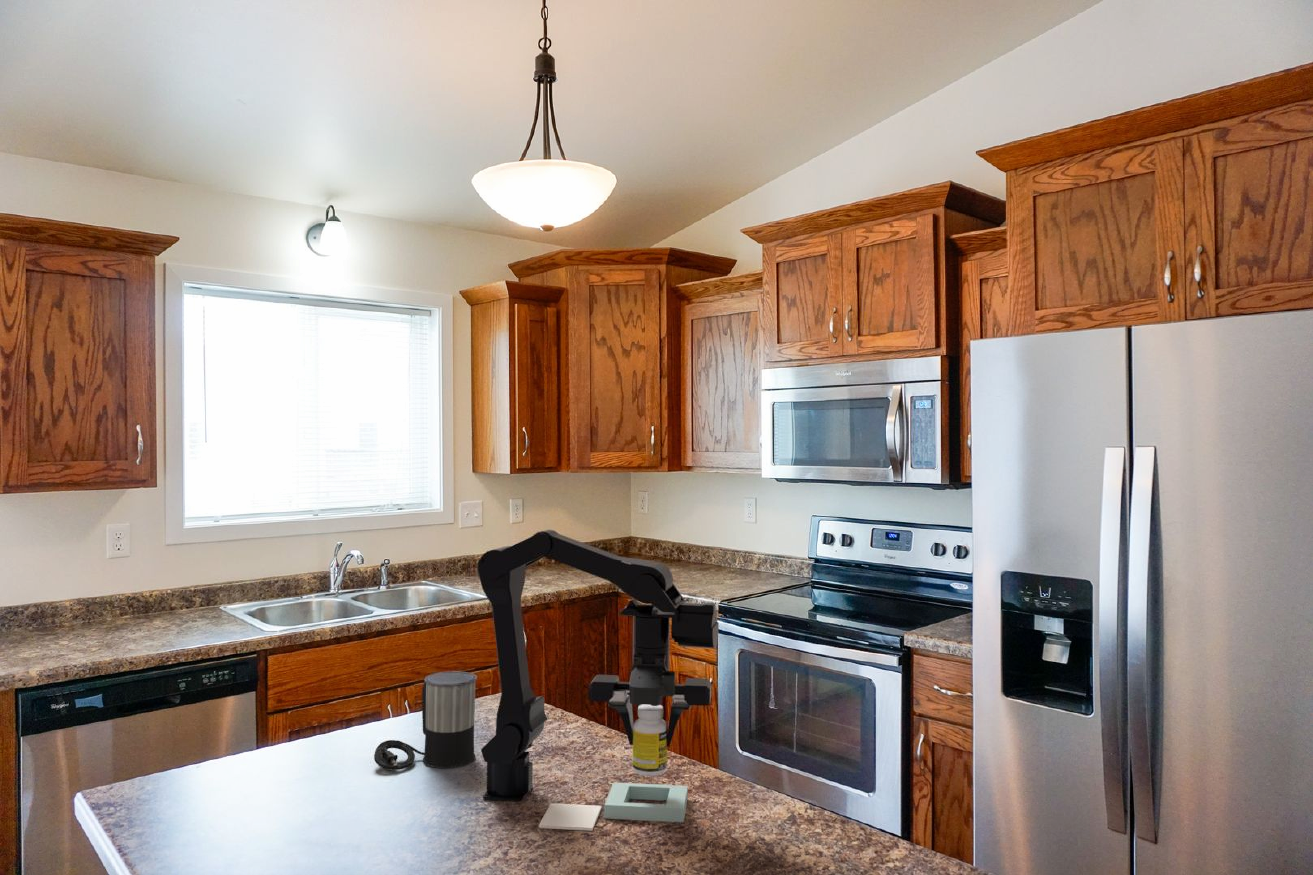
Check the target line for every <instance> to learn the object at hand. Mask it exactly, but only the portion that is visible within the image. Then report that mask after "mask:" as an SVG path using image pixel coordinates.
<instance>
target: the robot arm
mask: <svg viewBox="0 0 1313 875" xmlns="http://www.w3.org/2000/svg"><path fill="white" fill-rule="evenodd" d="M543 558H548V559H551V561H552V560H553V561H556V562H558V563H561V564H563V565H566V566H568V567H571V568H574V569H576V570H580V571H581V572H584V573H587V574H590V575H593V576H595V577H598V578H600V579H603V580H606V581H608V582H609V583H611V584H613V585H614V586H615V587H617V588H618V589H620V591H622V592H623V593H624V594H626V595H628V596H629V597H631V598H632V599H630V600H629V602H628V603H627V604H626V606H625V607H623V609H621V610H619V611H620V612H619V614H620V615H621V616H625V617H633V619H632V623H633V624H632V666H631V669H630V672H629V681H620V679H619V678H620V677H619V674H617V675H615V674H596V675H595V677H594V678H592V681H591V682H590V683H589V686H588V701H590V702H599V703H601V702H604V703H605V702H606V703H607V704H608V707H609V708H614V709H615V710H616V712H617V713H618V715H619V717H620V719H621V721H622V724H623V727H624V730H625V734H626V736H627V739H628V742H629V745H630V746H633V724H634V715H633V706H640V705H643V704H647V705H652V706H658V705H662V703H663V697H670V698H671V697H672V701H671V705H670V710H669V711H670V712H669V713H670V714H669V719H668V720H669V721H668V725H667V729H668V730H667V748H670V746H671V743H672V740H673V737H674V734H675V730H676V727H677V724H678V722H679V721H680V720H679V719H680V718H681V716H682V713H683V712H684V711H690V710H691V707H692V706H697V707H698V706H700V707H703V706H704V707H706V706H710V705H711V701H712V700H711V698H712V682H711V681H710V680H709V679H708V678H701V677H700V678H696V677H694V678H693V677H686V679H685V683H681V684H680V683H677V682H676V676H677V675H676V671H674V670H670V636H671V639H672V640H673V642H674V643H677V645H678V647H683V648H697V649H698V648H700V649H711V650H712V649H714V650H715V649H717V646H718V639H719V629H720V628H719V627H720V626H719V625H720V624H719V622H718V616H717V611H716V603H714V602H713V603H712V602H706V603H690V602H689V603H688V602H686V599H685V598H684V597H683V595H682V594H681V593H680V591H679V590H678V588H677V587H676V585H675V584H674V577H673V574H672V572H671V570H670V567H668V566H667V565H666V564H665V563H663V562H658V561H653V560H649V559H642V558H641V559H640V558H632V557H625V556H619V555H617V554H614V553H612V552H609V551H606V550H603V549H602V548H598V547H595V546H593V545H590V544H587V543H584V542H582V541H578V540H576V539H575V538H574V539H573V538H571V537H569V536H566V535H562V534H560V533H558V532H557V531H556V530H553V529H545V530H541V531H537V532H535V533H534V534H533V535H532V536H530V537H528V538H525V539H524V540H522V541H519V542H517V543H515V544H513V545H507V546H502V547H499V548H494V549H490V550H487V551H485V552H484V553H482V556H480V558H479V559H478V561H477V565H476V569H477V574H478V579H479V583H480V585H481V589H482V590H483V593H484V595H485V597H486V598H487V600H488V601H489V603H490V606H491V612H492V619H493V621H492V622H493V626H494V628H493V629H494V637H495V646H496V656H497V665H498V673H499V682H500V691H501V693H500V695H501V696H500V699H499V703H498V708H497V712H496V719H495V735H494V736H493V737H492V738H491V739H489V741H488V742H487V743H486V744H485V745H483V747H481V748H480V751H481V756H482V757H483V761H484V762H485V763H486V791H485V792H484V793H483V795H482V799H483V800H491V801H492V800H493V801H494V800H495V801H513V802H514V801H515V802H516V801H517V802H522V801H524V799H525V798H526V796H527V795H528V793H529V792H530V791H531V789H532V788H533V772H534V771H533V766H534V764H533V761H530V751H528V750H529V749H531V748H532V746H533V743H534V742H535V740H536V739H538V737H540V735H541V734H542V732H543V731H544V727H545V723H546V721H548V717H547V715H546V710H545V697H544V695H541V696H536V695H535V693H534V691H533V690H532V687H531V685H530V684H531V683H530V676H529V675H530V674H529V665H528V658H527V651H526V650H527V649H526V648H527V647H526V640H525V639H526V638H525V630H524V623H523V613H522V603H521V600H522V599H521V598H522V594H523V591H524V586H525V582H526V568H527V567H528V566H531V565H533V564H535V563H536V562H538V561H541V559H543ZM670 621H671V622H670ZM670 624H671V627H670ZM670 634H671V635H670Z"/></svg>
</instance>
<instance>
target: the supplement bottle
mask: <svg viewBox="0 0 1313 875" xmlns="http://www.w3.org/2000/svg"><path fill="white" fill-rule="evenodd" d="M637 717H638V719H636V720H635V721H633V745H632V752H631V753H632V757H631V758H632V759H631V760H632V762H631V763H632V764H631V766H632V768H631V769H632V771H633V772H634V773H636V774H637V775H640V776H647V777H648V776H659V775H662V774H664V773H665V772H666V771H667V768H668V747H667V734H668V723H667V722H666V720H664V719H663V718H664V707H663V705H662V704H660V705H658V706H652V705H647V704H639V705H638V707H637Z"/></svg>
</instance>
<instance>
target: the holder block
mask: <svg viewBox="0 0 1313 875" xmlns="http://www.w3.org/2000/svg"><path fill="white" fill-rule="evenodd" d="M688 790H689V789H688V785H679V784H678V785H677V784H676V785H675V784H674V785H673V784H657V783H655V784H653V783H637V782H636V783H633V782H616V781H615V782H612V785H611V788H610V789H609V793H608V795H607V798H606V799H605V802H604V804H603V805H604V806H603V808H604V809H603V810H604V813H603V814H604V817H603V818H604V819H611V820H613V819H614V820H631V821H632V820H634V821H648V822H649V821H650V822H651V821H652V822H667V823H668V822H670V823H684V822H685V816H686V810H687V804H688V792H689V791H688ZM630 800H645V801H646V800H647V801H664V800H666V803H665V804H663V803H662V804H661V803H658V804H657V803H643V802H642V803H641V802H639V803H638V802H629V801H630Z"/></svg>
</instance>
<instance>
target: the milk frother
mask: <svg viewBox="0 0 1313 875" xmlns="http://www.w3.org/2000/svg"><path fill="white" fill-rule="evenodd" d="M477 679H478V676H477V674H474V673H472V672H468V671H467V672H466V671H460V670H459V671H457V670H453V671H452V670H451V671H449V670H448V671H447V670H446V671H441V672H436V673H432V674H428V675H427V676H426V677H425V678H424V679H423V680H424V683H423V684H422V689H421V710H422V711H421V712H422V715H421V716H422V718H421V719H422V733H423V735H425V738H424V752H423V751H420V750H418V749H417V748H414V746H411V745H410V744H408V743H406V742H403V741H400V740H395V739H389V740H385V741H383V742H380V743H379V744H378V746H377V747H376V748H375V751H374V755H373V759H374V762H375V763H376V765H378V767H380V768H382V769H384V770H388V771H400V770H404V769H409V767H411V766H412V765H413V764H414V762H415V758H416V756H415V755H416V754H420V755H422V756H423V758H422V762H423V764H425V765H426V766H429V767H432V768H437V769H452V768H459V767H463V766H466V765H468V764H470V763H472V762H474V761H475V760H476V753H475V716H476V715H475V713H476V710H475V709H476V681H477ZM388 749H397V750H401V751H403V753H405V754H406V755H407V758H406V759H405V760H404V761H402V762H398V763H397V760H398V757H399V755H397V754H394V753H393V752H392V751H390V750H388ZM415 753H416V754H415Z"/></svg>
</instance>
